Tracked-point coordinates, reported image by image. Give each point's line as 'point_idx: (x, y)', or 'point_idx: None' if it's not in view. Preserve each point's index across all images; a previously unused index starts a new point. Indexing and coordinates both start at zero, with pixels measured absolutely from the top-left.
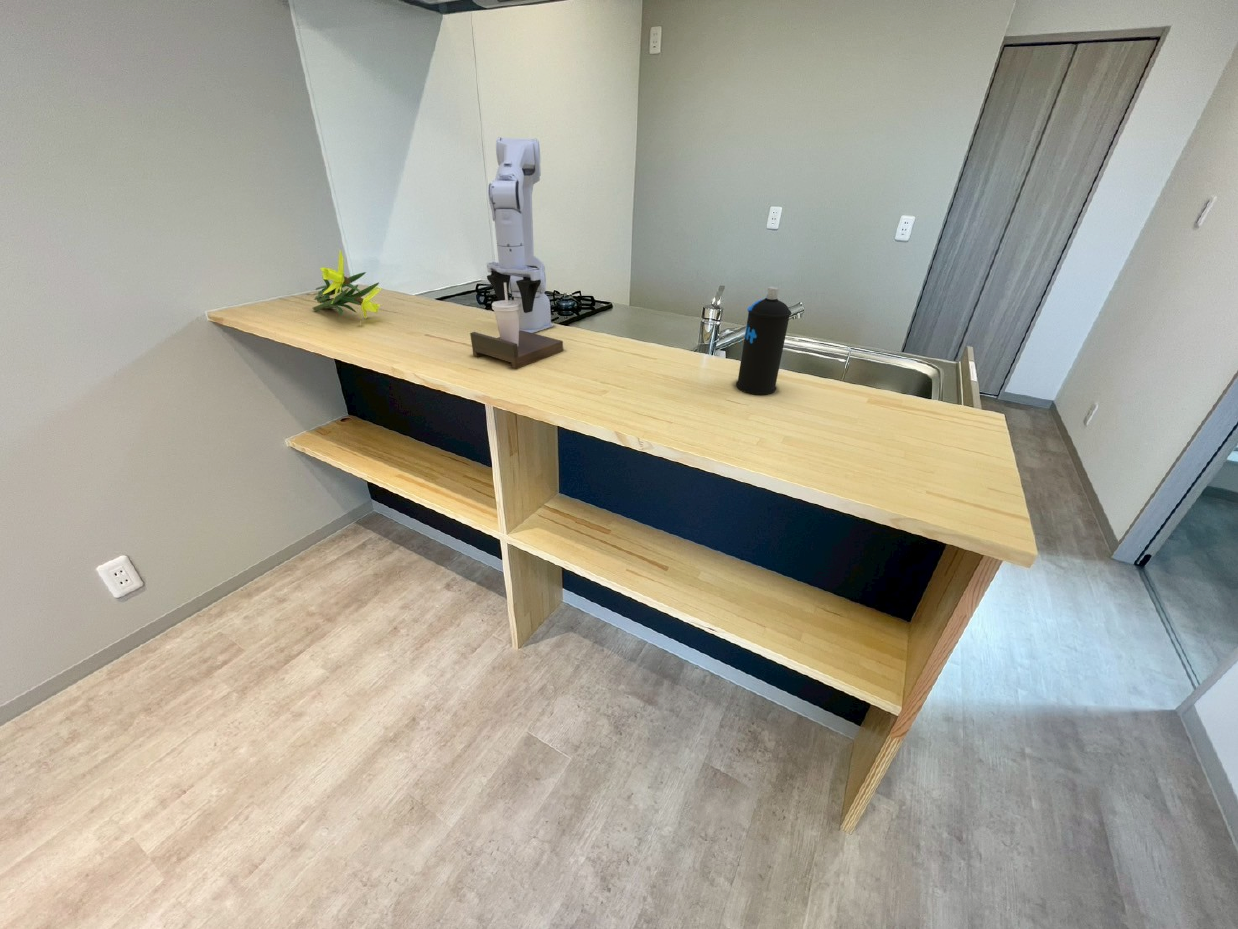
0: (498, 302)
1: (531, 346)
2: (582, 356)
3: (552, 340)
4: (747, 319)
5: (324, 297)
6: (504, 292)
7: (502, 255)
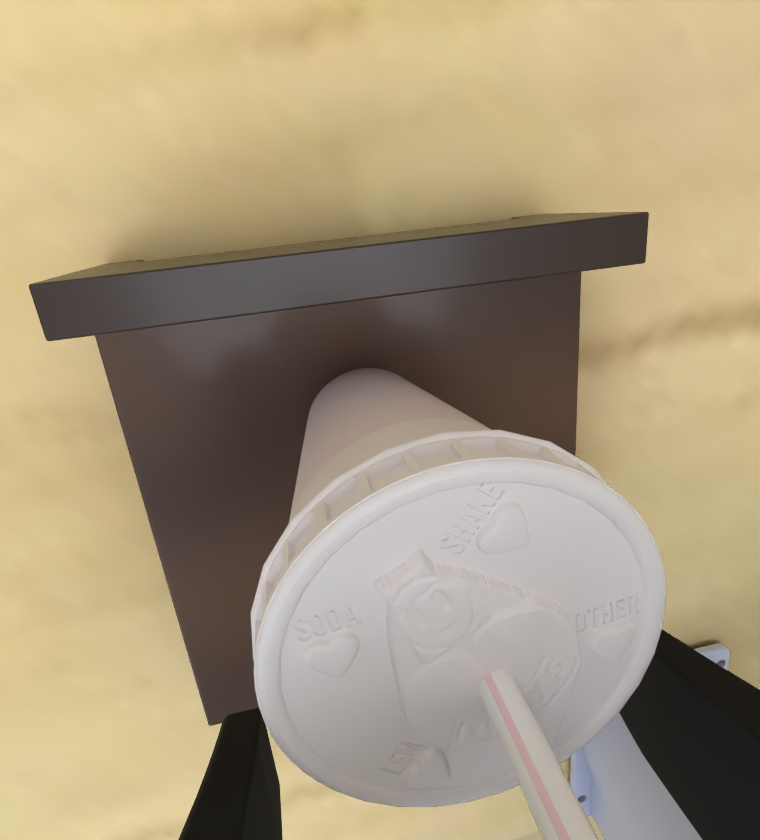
0: (612, 608)
1: (247, 526)
2: (52, 705)
3: None
4: None
5: None
6: (743, 826)
7: None
